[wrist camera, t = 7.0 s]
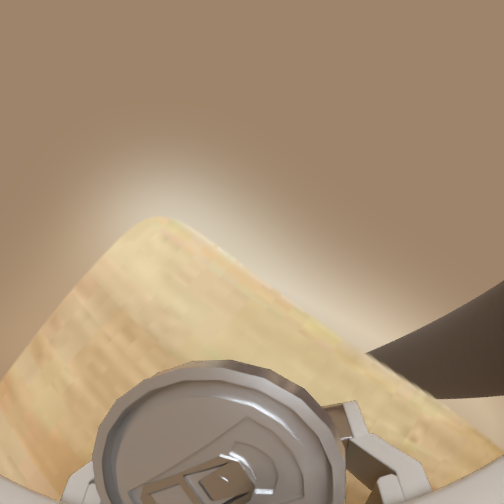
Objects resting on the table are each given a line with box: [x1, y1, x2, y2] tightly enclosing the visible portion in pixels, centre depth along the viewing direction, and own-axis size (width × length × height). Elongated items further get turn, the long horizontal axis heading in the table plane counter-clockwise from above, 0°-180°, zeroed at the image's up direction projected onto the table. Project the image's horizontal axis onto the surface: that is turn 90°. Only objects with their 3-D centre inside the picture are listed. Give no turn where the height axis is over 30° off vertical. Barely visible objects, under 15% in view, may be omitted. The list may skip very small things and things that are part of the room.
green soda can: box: [92, 360, 346, 504], centre depth 10 cm, size 5×5×12 cm
